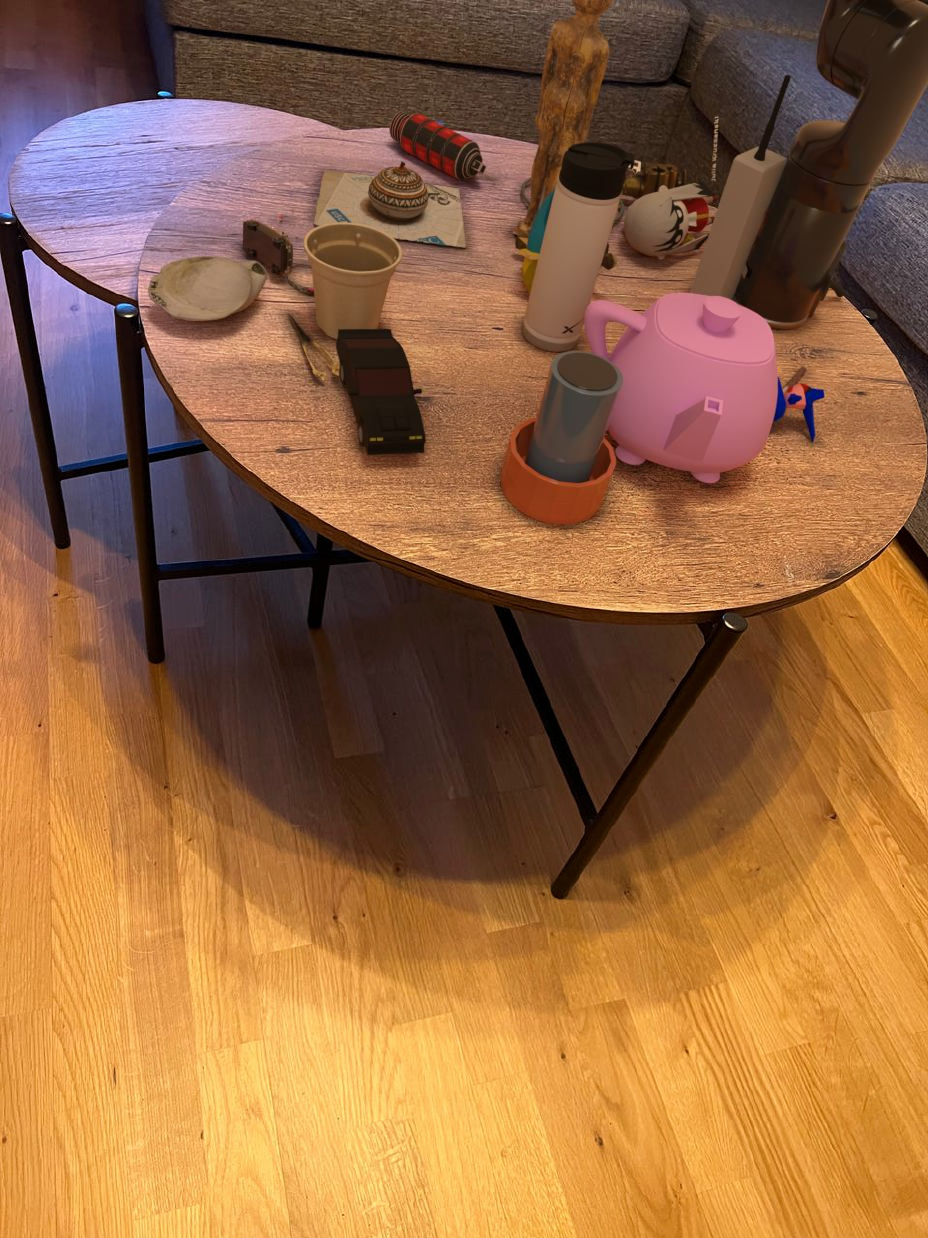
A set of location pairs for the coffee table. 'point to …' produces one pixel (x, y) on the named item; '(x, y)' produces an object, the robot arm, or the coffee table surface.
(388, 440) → the toy car
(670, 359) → the teapot
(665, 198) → the toy
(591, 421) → the grey metal cylinder
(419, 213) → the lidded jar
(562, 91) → the sculpture
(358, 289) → the flower pot
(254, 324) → the coffee table surface
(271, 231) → the toy car
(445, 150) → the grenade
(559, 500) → the orange round bowl
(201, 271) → the seashell
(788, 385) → the pen
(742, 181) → the vintage mobile phone
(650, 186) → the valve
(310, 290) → the necklace
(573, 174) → the travel mug
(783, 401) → the figurine
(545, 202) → the toy
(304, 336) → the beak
